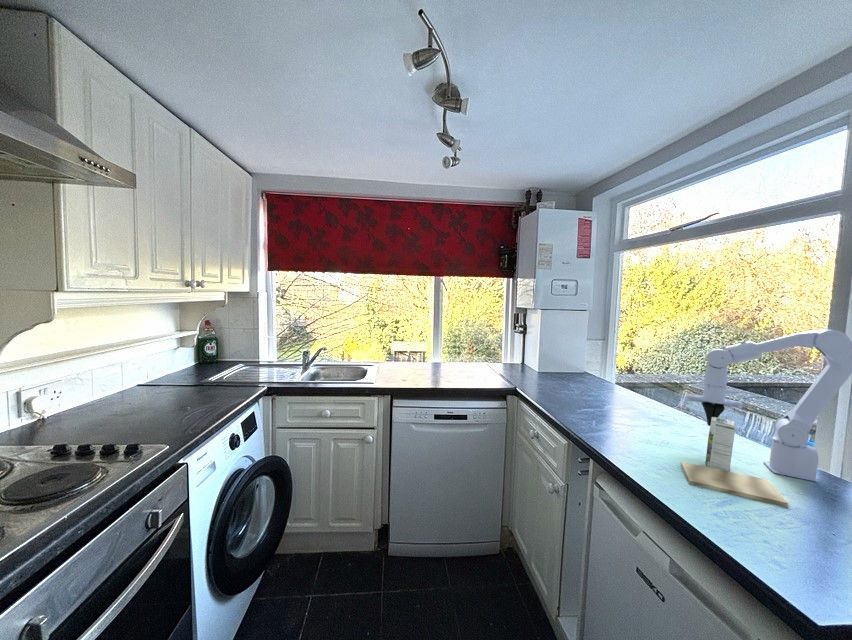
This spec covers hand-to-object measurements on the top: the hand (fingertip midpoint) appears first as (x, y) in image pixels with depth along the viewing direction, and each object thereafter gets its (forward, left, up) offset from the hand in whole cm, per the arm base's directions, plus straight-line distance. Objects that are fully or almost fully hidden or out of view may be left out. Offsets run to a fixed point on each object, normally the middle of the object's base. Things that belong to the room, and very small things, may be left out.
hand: (710, 425), depth 118 cm
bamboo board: (0, +23, -9) cm, 25 cm away
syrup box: (0, +12, -9) cm, 15 cm away
